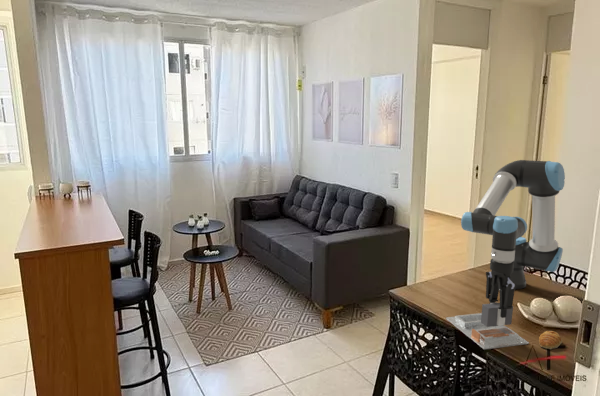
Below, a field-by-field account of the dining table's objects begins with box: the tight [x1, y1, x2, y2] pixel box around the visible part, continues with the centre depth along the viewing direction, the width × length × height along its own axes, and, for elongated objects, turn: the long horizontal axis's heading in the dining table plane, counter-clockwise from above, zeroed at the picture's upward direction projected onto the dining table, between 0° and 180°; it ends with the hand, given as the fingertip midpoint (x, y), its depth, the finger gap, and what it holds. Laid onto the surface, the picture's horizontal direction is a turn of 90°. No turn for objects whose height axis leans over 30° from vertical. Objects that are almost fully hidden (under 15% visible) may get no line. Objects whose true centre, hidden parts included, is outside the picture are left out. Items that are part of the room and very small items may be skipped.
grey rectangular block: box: [481, 302, 514, 327], centre depth 153 cm, size 10×4×7 cm, turn 102°
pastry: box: [538, 330, 563, 350], centre depth 150 cm, size 9×7×4 cm
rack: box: [445, 312, 530, 351], centre depth 160 cm, size 18×24×4 cm
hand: (496, 322), depth 153 cm, fingers closed on grey rectangular block, 3 cm apart
